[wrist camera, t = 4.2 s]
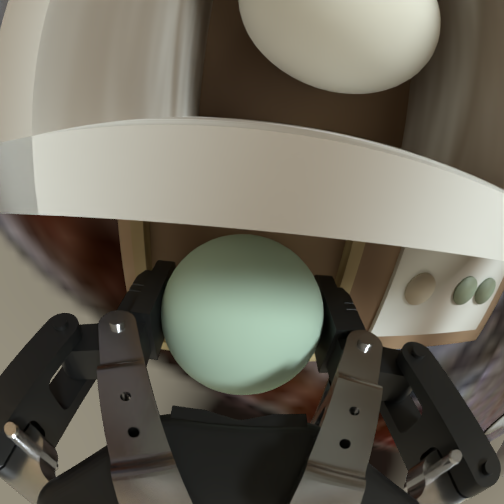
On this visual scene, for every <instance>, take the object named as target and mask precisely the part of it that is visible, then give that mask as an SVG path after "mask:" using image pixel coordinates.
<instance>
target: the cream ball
mask: <svg viewBox="0 0 504 504" xmlns="http://www.w3.org/2000/svg"><path fill="white" fill-rule="evenodd" d="M238 2H239V11H240V14H241V17H242V21H243V24H244V26H245V28H246V31H247V33H248V35H249V36H250V38H251V40H252V41H253V43H254V44H255V46H256V47H257V48H258V49H259V50H260V52H261V53H262V54H263V55H264V56H265V57H266V58H267V59H268V60H269V61H270V62H271V63H273V64H274V65H275V66H277V67H278V68H279V69H280V70H282V71H283V72H285V73H287V74H288V75H290V76H291V77H293V78H295V79H297V80H299V81H301V82H303V83H305V84H308V85H311V86H313V87H316V88H319V89H323V90H326V91H330V92H337V93H345V94H368V93H375V92H380V91H384V90H387V89H390V88H393V87H396V86H398V85H400V84H402V83H404V82H406V81H408V80H409V79H411V78H412V77H413V76H415V75H416V74H418V73H419V72H420V70H421V69H422V68H423V67H424V66H425V65H426V64H427V63H428V62H429V60H430V58H431V57H432V55H433V53H434V51H435V49H436V46H437V44H438V41H439V36H440V27H441V17H440V9H439V5H438V2H437V0H238Z"/></svg>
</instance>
